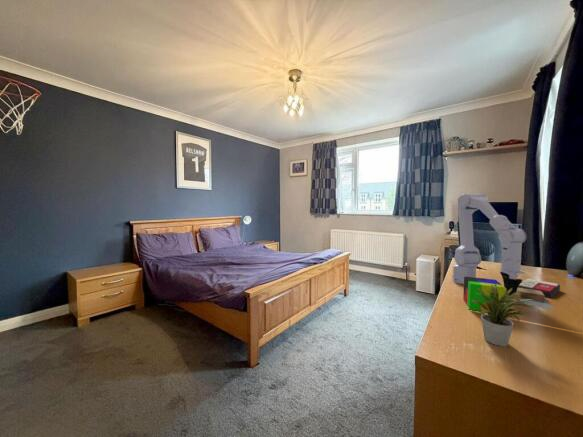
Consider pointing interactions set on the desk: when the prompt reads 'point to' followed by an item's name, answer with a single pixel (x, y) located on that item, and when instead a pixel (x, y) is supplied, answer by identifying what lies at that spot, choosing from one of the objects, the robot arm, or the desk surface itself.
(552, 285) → the calculator
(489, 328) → the house plant
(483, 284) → the puzzle toy
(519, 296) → the terracotta brick
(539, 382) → the desk surface
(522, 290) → the walnut base brick
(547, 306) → the baseplate
